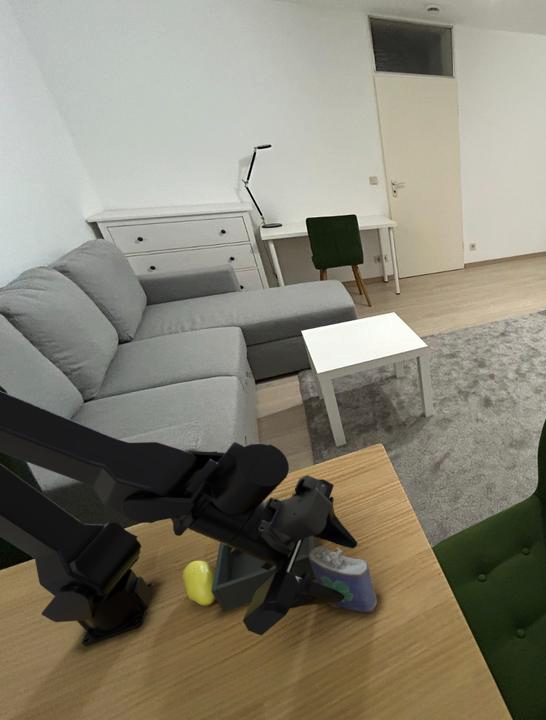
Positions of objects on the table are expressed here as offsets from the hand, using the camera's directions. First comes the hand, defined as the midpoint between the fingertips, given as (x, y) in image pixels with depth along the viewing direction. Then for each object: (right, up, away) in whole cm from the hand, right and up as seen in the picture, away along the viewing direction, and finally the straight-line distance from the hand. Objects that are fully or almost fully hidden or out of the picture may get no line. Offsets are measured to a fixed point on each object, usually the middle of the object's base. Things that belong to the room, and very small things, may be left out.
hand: (349, 570), depth 54 cm
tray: (-15, -3, +9) cm, 18 cm away
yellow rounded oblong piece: (-25, -4, +2) cm, 25 cm away
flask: (-1, -6, +3) cm, 7 cm away
